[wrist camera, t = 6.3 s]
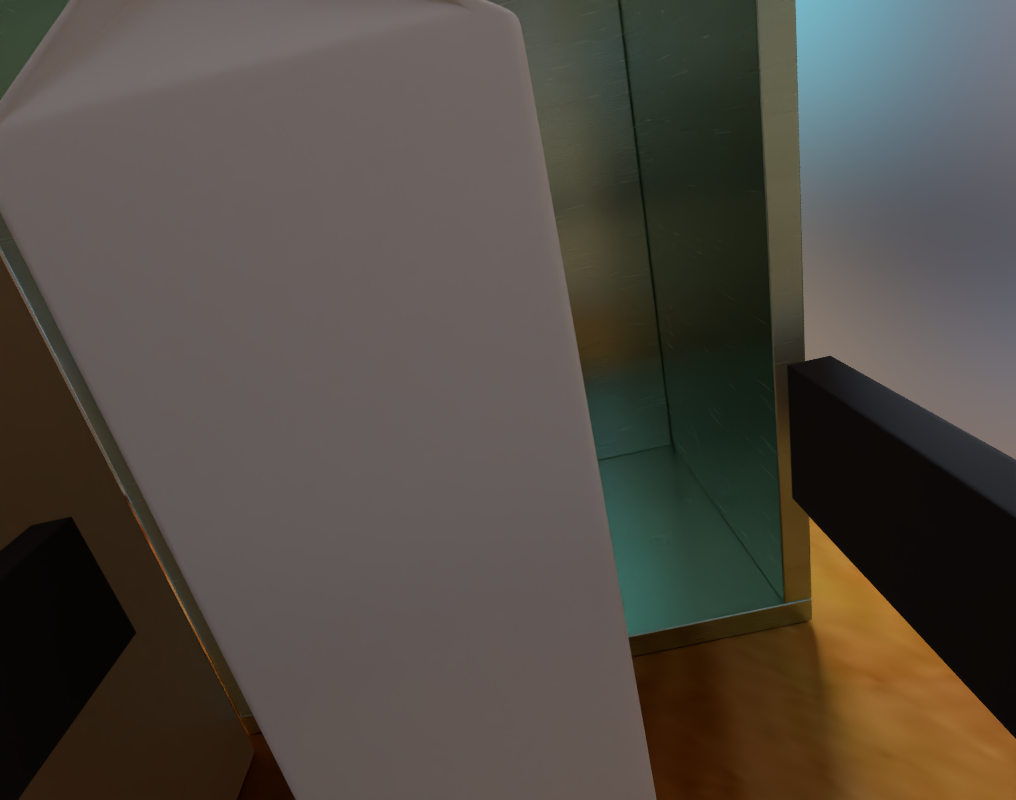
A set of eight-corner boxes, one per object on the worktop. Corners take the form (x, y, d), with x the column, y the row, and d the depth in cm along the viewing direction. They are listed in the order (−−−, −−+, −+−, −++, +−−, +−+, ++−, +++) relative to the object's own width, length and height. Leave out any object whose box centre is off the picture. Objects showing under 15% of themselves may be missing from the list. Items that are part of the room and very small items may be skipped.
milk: (425, 1063, 13) (-270, -248, 5) (451, 792, 19) (139, -44, 11) (706, 1035, 13) (431, -482, 5) (648, 765, 18) (477, -139, 10)
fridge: (812, 620, 22) (769, -1077, 10) (249, 735, 23) (-504, -730, 10) (686, 449, 35) (596, -364, 22) (329, 524, 36) (46, -229, 23)
